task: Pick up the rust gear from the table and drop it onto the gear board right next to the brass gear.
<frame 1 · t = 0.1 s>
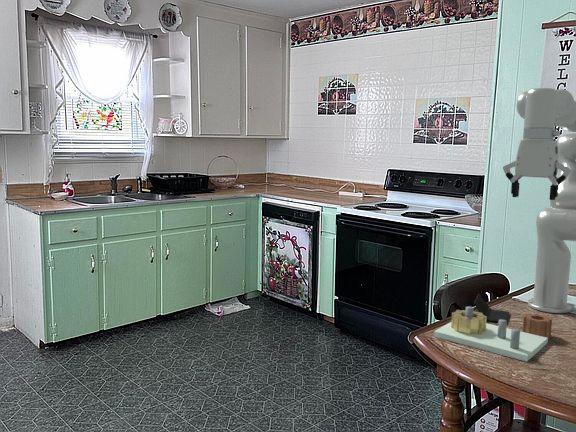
hand: (533, 198, 148), 37 cm above the table, tool pointing down, fingers open, 9 cm apart
gear board: (489, 339, 143), on the table
rust gear: (536, 335, 146), on the table
brass gear: (468, 328, 146), resting on gear board
dark grey angled bracket: (491, 318, 161), on the table
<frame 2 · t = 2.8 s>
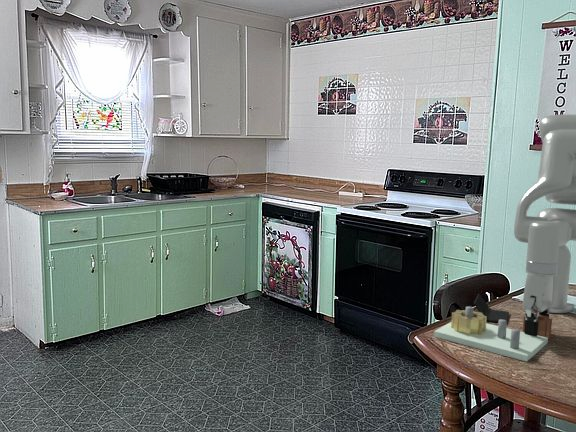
hand: (536, 330, 146), 1 cm above the table, tool pointing down, fingers open, 8 cm apart
nothing on the table moved.
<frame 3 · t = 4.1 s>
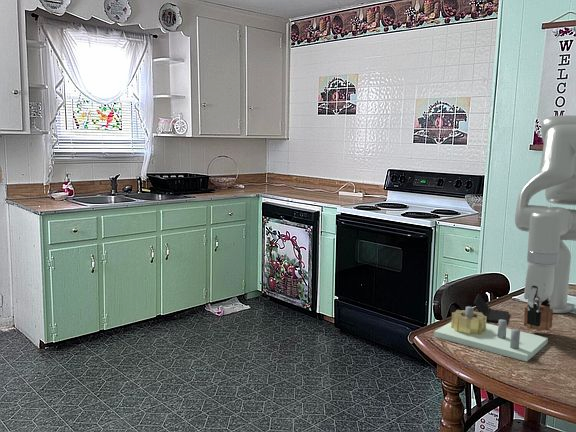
hand: (538, 320, 147), 4 cm above the table, tool pointing down, fingers closed on rust gear, 6 cm apart
rust gear: (537, 325, 147), point 2 cm above the table, touching gripper
everything else where it was.
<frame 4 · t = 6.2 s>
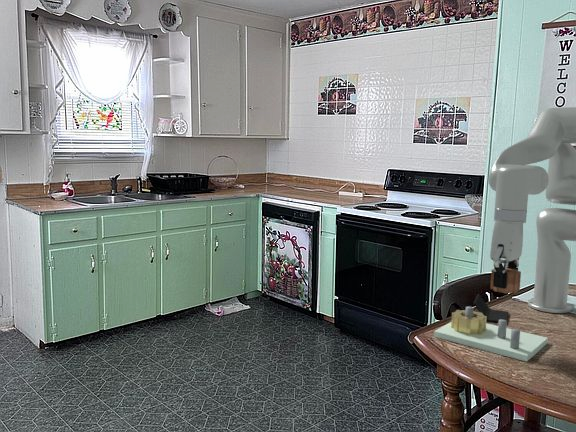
hand: (505, 284, 138), 16 cm above the table, tool pointing down, fingers closed on rust gear, 6 cm apart
rust gear: (504, 289, 139), point 14 cm above the table, touching gripper
everything else where it was.
when the fingers open (4 cm above the table, at t = 8.7 s): rust gear drops 1 cm, resting on gear board.
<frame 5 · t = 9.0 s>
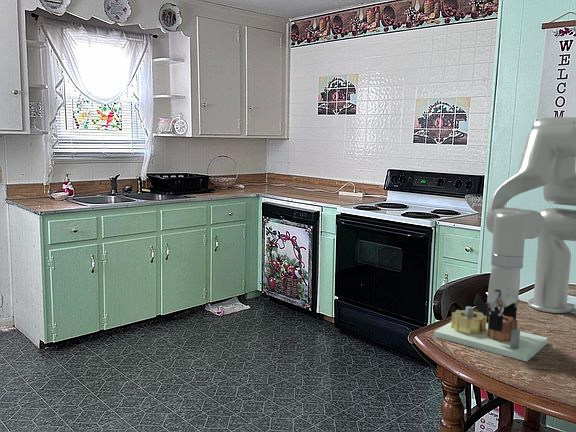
hand: (502, 325, 140), 5 cm above the table, tool pointing down, fingers open, 9 cm apart
rust gear: (501, 337, 140), point 1 cm above the table, touching gear board
everything else where it was.
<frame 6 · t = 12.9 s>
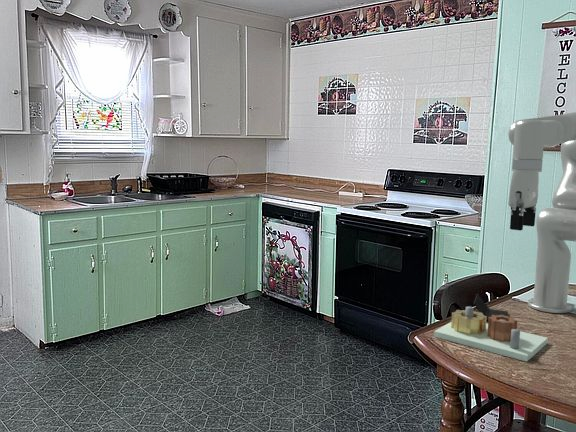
hand: (522, 227, 150), 28 cm above the table, tool pointing down, fingers open, 9 cm apart
nothing on the table moved.
at the end: rust gear 0.1 cm from the target spot on the gear board, point 1.5 cm above the gear board's base; the gripper is holding nothing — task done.
